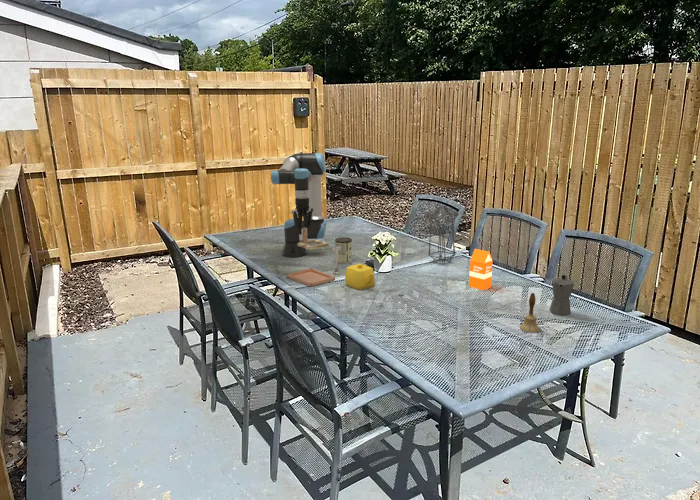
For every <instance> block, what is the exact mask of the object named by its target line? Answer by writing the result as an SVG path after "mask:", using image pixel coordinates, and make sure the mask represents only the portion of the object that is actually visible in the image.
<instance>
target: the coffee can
mask: <svg viewBox="0 0 700 500" xmlns="http://www.w3.org/2000/svg"><path fill="white" fill-rule="evenodd" d="M334 241H335V242H334V244H335V247H339V246H340V247H341V249H340V250H338V264H350V263H352V262H353V252H352V249H353V246H352V245H353V243H352V242H353V239H352V238H350V237H337V238H335V239H334ZM335 247H334V248H335Z"/></svg>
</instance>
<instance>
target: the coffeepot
mask: <svg viewBox="0 0 700 500" xmlns="http://www.w3.org/2000/svg"><path fill="white" fill-rule="evenodd" d="M551 281H552V282H551V284H552V294H553V297H552V300H551V303H550V308H549V312H550V313H551V314H553V315H555V316H561V317H566V316H570V315H571V314H572V313H571V312H572V311H571V301H570V297H571V296H572V293H573V292H572V291H573V289H574V286H575V282H574V281H573V280H571V279H568V276H566V275H565V274H562V275H561V278H554V279H552V280H551Z"/></svg>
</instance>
